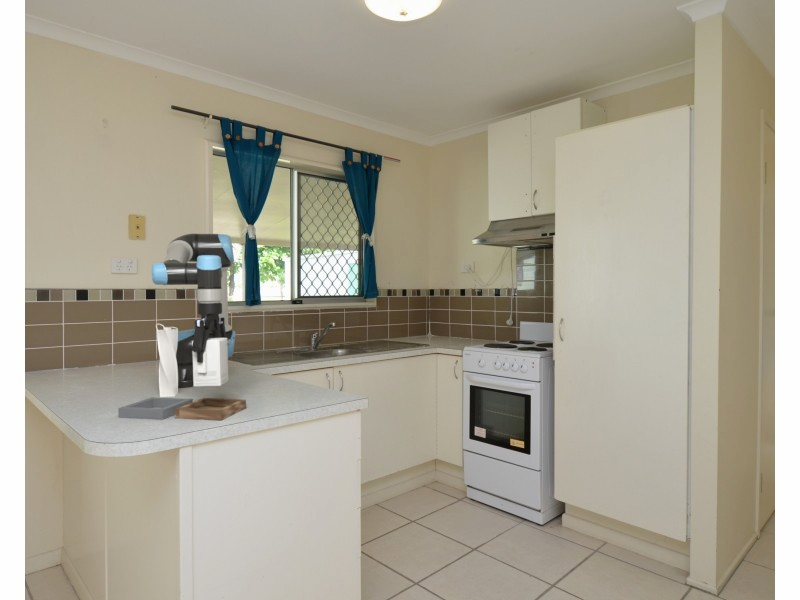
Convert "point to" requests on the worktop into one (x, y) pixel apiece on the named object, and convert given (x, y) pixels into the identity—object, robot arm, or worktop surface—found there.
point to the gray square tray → (148, 412)
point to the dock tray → (210, 409)
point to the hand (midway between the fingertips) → (211, 369)
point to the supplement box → (212, 364)
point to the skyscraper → (168, 361)
